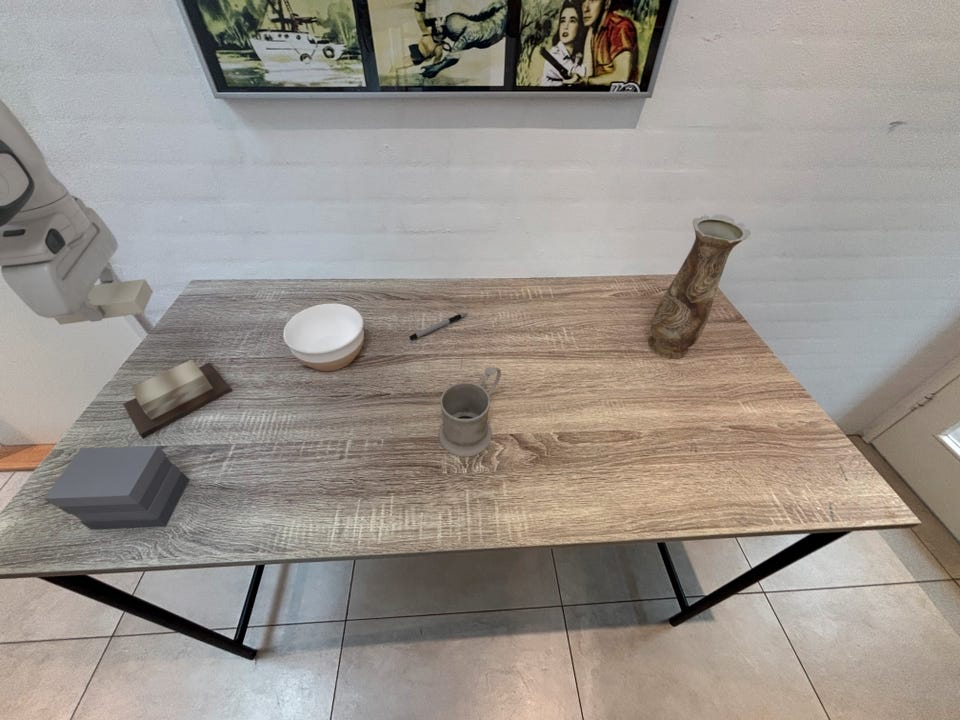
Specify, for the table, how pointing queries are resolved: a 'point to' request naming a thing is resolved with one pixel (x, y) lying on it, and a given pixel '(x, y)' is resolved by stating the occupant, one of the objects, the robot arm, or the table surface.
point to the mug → (472, 402)
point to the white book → (115, 300)
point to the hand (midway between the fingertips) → (106, 304)
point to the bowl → (325, 336)
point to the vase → (694, 286)
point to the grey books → (119, 487)
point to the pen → (437, 326)
